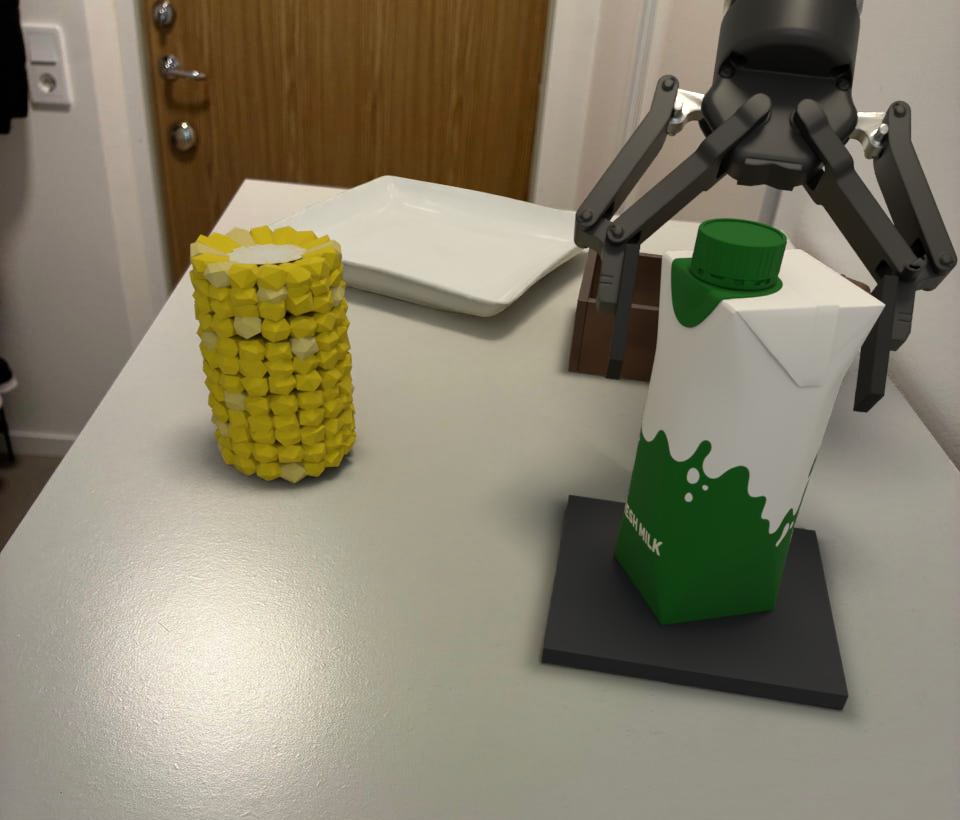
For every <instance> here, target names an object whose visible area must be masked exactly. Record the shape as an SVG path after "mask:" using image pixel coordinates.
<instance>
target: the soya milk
mask: <svg viewBox="0 0 960 820" xmlns="http://www.w3.org/2000/svg"><path fill="white" fill-rule="evenodd" d="M787 243H788V237H787V235H786V234H785V233H784V232H783V231H781V230H780V229H778V228H776V227H773V226H772V225H768V224H765V223H762V222H759V221H755V220H750V219H742V218H734V217H732V218H731V217H719V218H710V219H706V220H704V221H701V223H700V224H699V225H698V228H697V232H696V237H695V242H694V246H693V249H692V250H691V249H690V250H687V249H686V250H671V251H664V252H663V253H662V254H661V255H662V270H661V287H660V304H659V321H658V336H657V346H656V353H655V359H654V364H653V369H652V375H651V380H650V382H649V386H648V391H647V396H646V400H645V406H644V410H643V411H644V412H643V416H642V421H641V426H640V431H639V436H638V443H637V447H636V450H635V451H636V452H635V456H634V461H633V468H632V472H631V477H630V481H629V487H628V493H627V497H626V501H625V503H626V505H625V509H624V513H623V517H622V521H621V526H620V530H619V534H618V538H617V542H616V547H615V551H614V556H615V557H616V559H617V560H618V562H619V563H620V565H621V566H622V568H623V569H624V571H625V572H626V574H627V575H628V576H629V578H630V579H631V581H632V582H633V584H634V585H635V587H636V588H637V590H638V591H639V593H640V594H641V596H642V597H643V599H644V600H645V602H646V603H647V605H648V606H649V608H650V609H651V611H652V612H653V614H654V615H655V616H656V618H657V619H658V621H659V622H660V624H661V625H668V624H675V623H683V622H690V621H697V620H705V619H712V618H719V617H726V616H734V615H741V614H748V613H756V612H763V611H770V610H774V606H775V602H776V598H777V594H778V590H779V586H780V582H781V578H782V574H783V570H784V566H785V561H786V557H787V553H788V549H789V545H790V541H791V537H792V533H793V529H794V527H795V525H796V522H797V518H798V516H799V513H800V509H801V506H802V503H803V500H804V497H805V494H806V491H807V488H808V485H809V482H810V478H811V476H812V473H813V470H814V467H815V464H816V461H817V458H818V454H819V451H820V448H821V447H822V442H823V439H824V436H825V434H826V430H827V427H828V424H829V421H830V419H831V417H832V416H831V415H832V412H833V409H834V406H835V404H836V400H837V397H838V394H839V392H840V388H841V386H842V383H843V380H844V378H845V376H846V374H847V372H848V370H849V368H850V367H851V366H852V363H853V362H854V359H856V356H857V354H858V353H859V351H861V346H862V344H863V343H864V341H865V339H866V338H867V336H868V334H869V332H870V331H871V329H872V327H873V326H874V324H875V322H876V321H877V319H878V317H879V315H880V314H881V312H882V310H883V309H884V307H885V304H884V303H882V302H881V301H879V300H878V299H876V298H875V297H873V296H872V295H870V294H868V293H867V292H865V291H864V290H862V289H861V288H859V287H858V286H856V285H855V284H853V283H852V282H850V281H849V280H847V279H846V278H844V277H843V276H841V275H840V273H839V272H837V271H835V270H834V269H832V268H830V267H829V266H828V265H826V264H824V263H823V262H821V261H820V260H819V259H817V258H815V257H814V256H812V255H810V254H809V253H807V252H806V251H805V250H802V248H801V249H800V248H795V249H793V248H791V249H790V248H789V249H786V248H787Z"/></svg>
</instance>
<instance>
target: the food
mask: <svg viewBox="0 0 960 820" xmlns="http://www.w3.org/2000/svg"><path fill="white" fill-rule="evenodd" d="M268 226H269V225H266V224H265V225H262V226H257V227H253V228H250V231H249V230H247V229H245V228H240V227H237V226H234V227H233V228H232V229H231V230H229V231H228V232H227V233H226V234H222V233H218V232H216V231H215V232H214V231H213V232H212V233H211V234H210V235H209V236H206V235H203V234H199V236H198V237H197V239H196V240H195V241H194V242H192V243H190V245H189V246H190V247H189V264H191V265H192V269H191V270H190V271H189V272H188V274H189V278H190V283H191V284H192V287H193V289H194V291H193V293H191V294H192V295H191V296H192V298H193V299H194V300H193V301H194V302H193V303H194V304H193V306H194V316H195V318H194V319H195V320H196V321H198V323H199V325H198V328H197V330H196V335H198V337H199V339H200V342H199V345H198V347H199V351H200V352H201V356H202V359H203V360H202V372H203V373H204V375H205V376H206V377H205V380H204V385H205V386H206V388H207V389H208V391H209V393H208V398H207V399H208V400H207V405H208V406H209V407H210V408H211V412H212V415H211V419H210V422H211V423H212V424H214V426H215V427H216V428H215V430H214V432H213V434H214V436H215V439H216V441H217V450H218V451H219V452H220V455H221V457H222V458H223V461H224V462H225V464H226V465H227V466H233V467H235V469H236V470H237V471H238V472H239V473H242V474H243V475H246V476H251V475H253V474H255V473H256V476H257V477H259V478H261V479H263V480H265V481H267V482H270V481H273V480H276V479H278V478H281V479H282V480H285V481H287V482H289V483H291V484H293V485H295V484H297V483H298V482H299V481H301V480H302V479H304V478H305V477H306V476H309V477H316V478H319V477H320V476H321V475H322V474H323V472H324V471H325V469H326V468H334V467H340V465H341V462H342V460H343V458H344V456H345V455H348V453H349V452H350V451H351V450H352V449H353V447H354V445H355V443H356V441H357V439H356V436H357V433H356V431H355V430H356V429H357V427H356V419H355V414H356V408H355V404H354V397H353V394H354V391H355V386H354V384H353V378H352V374H351V372H352V370H353V369H352V368H353V362H352V361H353V359H352V358H353V357H352V353H351V352H350V350H351V349H352V347H351V342H350V338H349V334H348V330H349V328H350V325H351V322H350V319H349V318H348V317H347V312H348V310H349V305H348V302H347V300H346V297H345V292H346V288H347V286H346V284H347V283H346V282H344V281H343V267H344V265H343V264H342V262H341V260H342V252H341V245H340V244H339V243H338V242H336V241H335V240H334V239H333V240H330V238H329V236H328V234H327V235H325V236H323V237H320V238H318V237H317V236H316V235H315V233H314V232H313V231H298V232H297V231H296V230H294V229H293V228H291V227H290V226H286V227H282V228H278V229H274V232H272V230H271V229H270V228H269V227H268Z"/></svg>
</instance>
